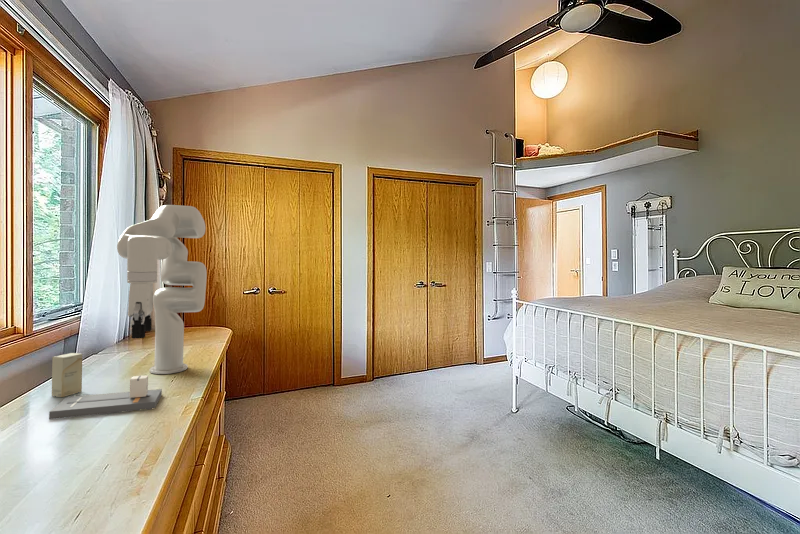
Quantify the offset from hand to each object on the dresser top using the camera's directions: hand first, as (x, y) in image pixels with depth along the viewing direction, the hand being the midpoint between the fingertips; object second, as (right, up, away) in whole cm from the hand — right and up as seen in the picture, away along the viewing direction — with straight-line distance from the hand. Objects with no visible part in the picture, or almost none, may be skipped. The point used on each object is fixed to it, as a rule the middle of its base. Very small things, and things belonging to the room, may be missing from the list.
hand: (142, 334), depth 121 cm
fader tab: (0, -18, -2) cm, 18 cm away
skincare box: (-26, -20, +4) cm, 33 cm away
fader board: (-6, -20, -5) cm, 21 cm away
